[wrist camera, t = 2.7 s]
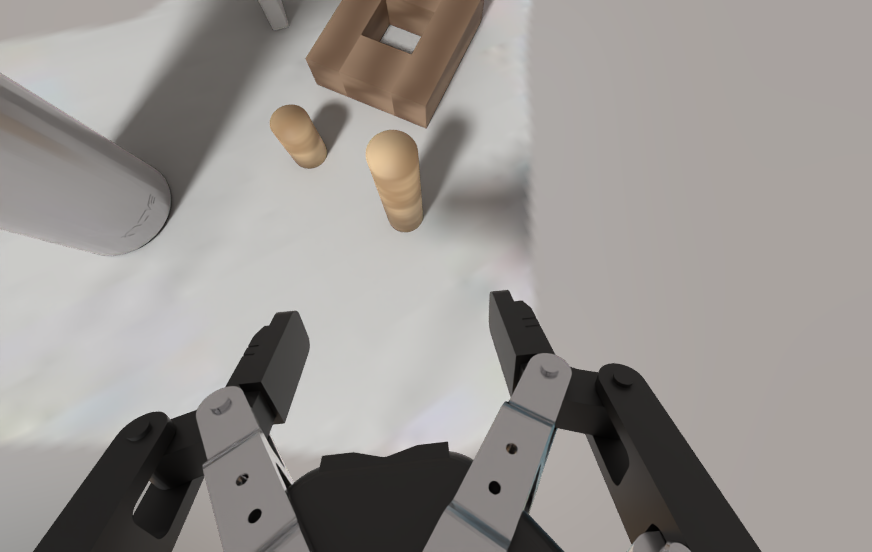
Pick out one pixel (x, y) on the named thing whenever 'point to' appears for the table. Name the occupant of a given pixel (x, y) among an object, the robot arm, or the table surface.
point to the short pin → (298, 136)
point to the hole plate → (394, 53)
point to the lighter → (275, 13)
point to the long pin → (397, 177)
